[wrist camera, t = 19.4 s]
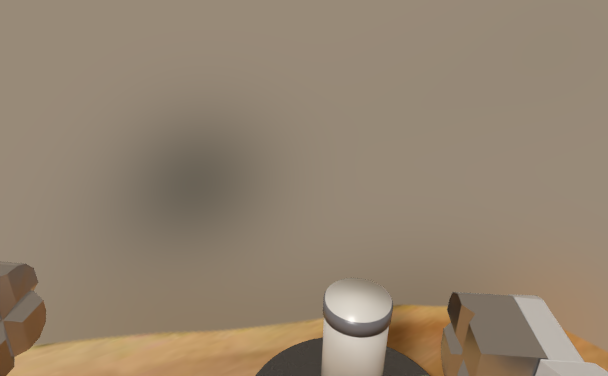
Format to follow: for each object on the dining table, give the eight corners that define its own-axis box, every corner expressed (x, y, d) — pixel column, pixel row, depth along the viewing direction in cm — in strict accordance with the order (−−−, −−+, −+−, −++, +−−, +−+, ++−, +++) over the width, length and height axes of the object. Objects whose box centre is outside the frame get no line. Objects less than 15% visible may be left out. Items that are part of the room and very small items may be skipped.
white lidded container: (375, 391, 39) (389, 279, 34) (380, 444, 34) (397, 323, 29) (319, 387, 39) (324, 275, 34) (316, 439, 34) (322, 318, 29)
